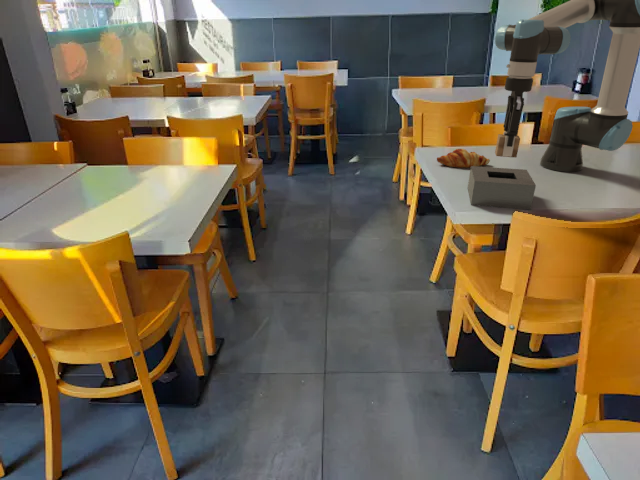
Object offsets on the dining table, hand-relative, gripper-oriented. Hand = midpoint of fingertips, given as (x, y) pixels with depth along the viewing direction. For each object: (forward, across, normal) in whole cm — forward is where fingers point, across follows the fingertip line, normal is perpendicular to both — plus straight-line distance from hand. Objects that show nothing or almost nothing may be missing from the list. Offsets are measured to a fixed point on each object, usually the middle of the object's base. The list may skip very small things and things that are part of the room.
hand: (505, 154), depth 153 cm
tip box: (+15, 0, 0) cm, 15 cm away
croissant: (+15, -36, -9) cm, 40 cm away
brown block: (0, 0, 0) cm, 0 cm away
